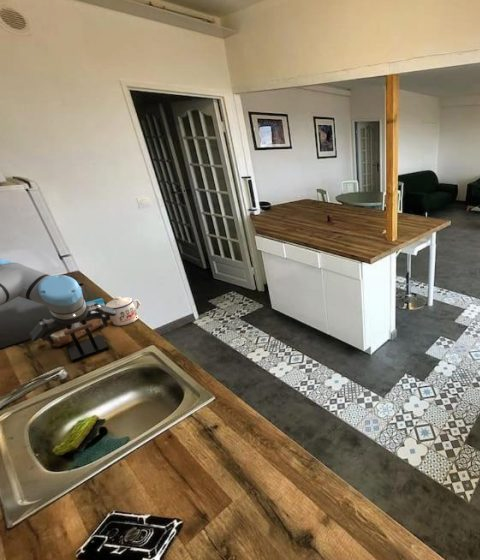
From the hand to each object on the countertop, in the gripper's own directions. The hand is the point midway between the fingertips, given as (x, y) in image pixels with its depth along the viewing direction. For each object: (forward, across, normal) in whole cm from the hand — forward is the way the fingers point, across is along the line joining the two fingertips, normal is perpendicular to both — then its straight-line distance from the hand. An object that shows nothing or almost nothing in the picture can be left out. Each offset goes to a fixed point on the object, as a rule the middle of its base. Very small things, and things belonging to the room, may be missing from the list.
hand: (79, 331), depth 106 cm
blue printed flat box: (+37, +6, +19) cm, 42 cm away
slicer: (+15, 0, -2) cm, 15 cm away
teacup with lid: (+25, +16, +8) cm, 31 cm away
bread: (+25, 0, +8) cm, 26 cm away
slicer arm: (+3, 0, +2) cm, 4 cm away
